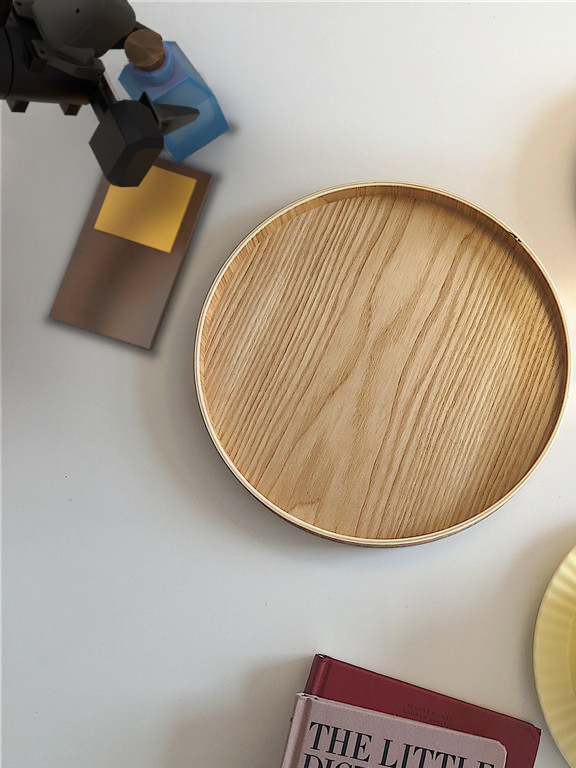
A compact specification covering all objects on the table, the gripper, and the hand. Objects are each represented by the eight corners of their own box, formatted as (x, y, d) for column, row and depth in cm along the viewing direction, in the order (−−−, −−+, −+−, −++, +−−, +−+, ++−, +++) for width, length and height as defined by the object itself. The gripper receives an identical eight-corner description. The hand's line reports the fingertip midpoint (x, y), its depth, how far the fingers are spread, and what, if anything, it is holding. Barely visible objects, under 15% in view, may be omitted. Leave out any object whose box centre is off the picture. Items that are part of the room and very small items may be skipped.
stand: (51, 318, 66) (46, 316, 65) (116, 146, 68) (113, 141, 67) (150, 350, 66) (147, 348, 65) (214, 177, 67) (211, 173, 67)
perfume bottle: (177, 163, 68) (133, 98, 56) (141, 114, 68) (90, 38, 56) (229, 128, 68) (197, 56, 56) (194, 79, 68) (154, -3, 56)
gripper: (87, 91, 44) (272, 107, 55) (-33, -153, 45) (172, -87, 57) (35, 193, 51) (208, 188, 63) (-67, -19, 53) (121, 15, 64)
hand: (178, 77), depth 61 cm, fingers open, 7 cm apart
